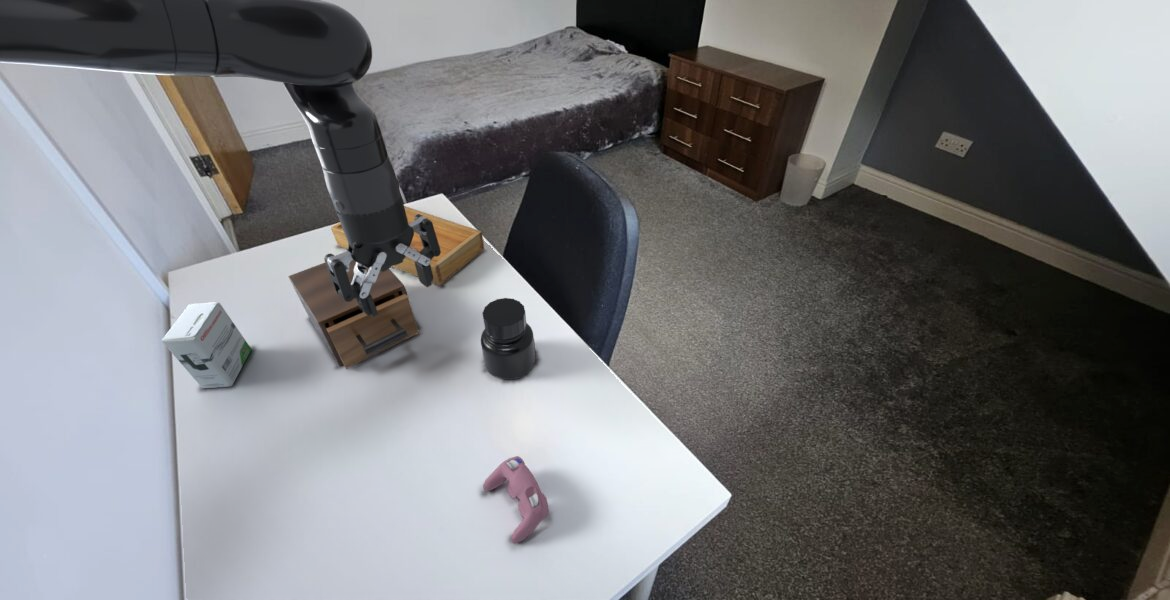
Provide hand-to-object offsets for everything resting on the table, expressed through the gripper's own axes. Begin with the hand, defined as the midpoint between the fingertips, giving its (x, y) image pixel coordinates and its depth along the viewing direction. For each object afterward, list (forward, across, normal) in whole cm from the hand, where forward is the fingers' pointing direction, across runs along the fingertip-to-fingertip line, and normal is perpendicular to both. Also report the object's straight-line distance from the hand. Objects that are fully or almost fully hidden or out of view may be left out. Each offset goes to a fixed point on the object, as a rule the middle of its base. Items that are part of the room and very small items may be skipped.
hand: (400, 298), depth 66 cm
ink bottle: (+20, -13, +6) cm, 24 cm away
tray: (+20, -20, -36) cm, 46 cm away
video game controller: (+20, +4, +26) cm, 33 cm away
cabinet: (+19, 0, -22) cm, 29 cm away
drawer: (+19, +1, -16) cm, 25 cm away
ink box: (+20, +21, -28) cm, 40 cm away
